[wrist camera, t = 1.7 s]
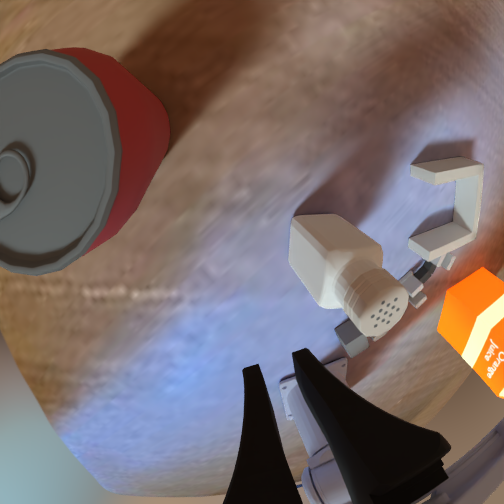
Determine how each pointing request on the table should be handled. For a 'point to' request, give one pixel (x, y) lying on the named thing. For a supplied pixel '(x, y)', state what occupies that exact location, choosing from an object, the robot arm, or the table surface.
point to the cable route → (357, 340)
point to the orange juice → (477, 325)
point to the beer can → (72, 154)
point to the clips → (420, 284)
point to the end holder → (464, 205)
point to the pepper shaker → (346, 272)
